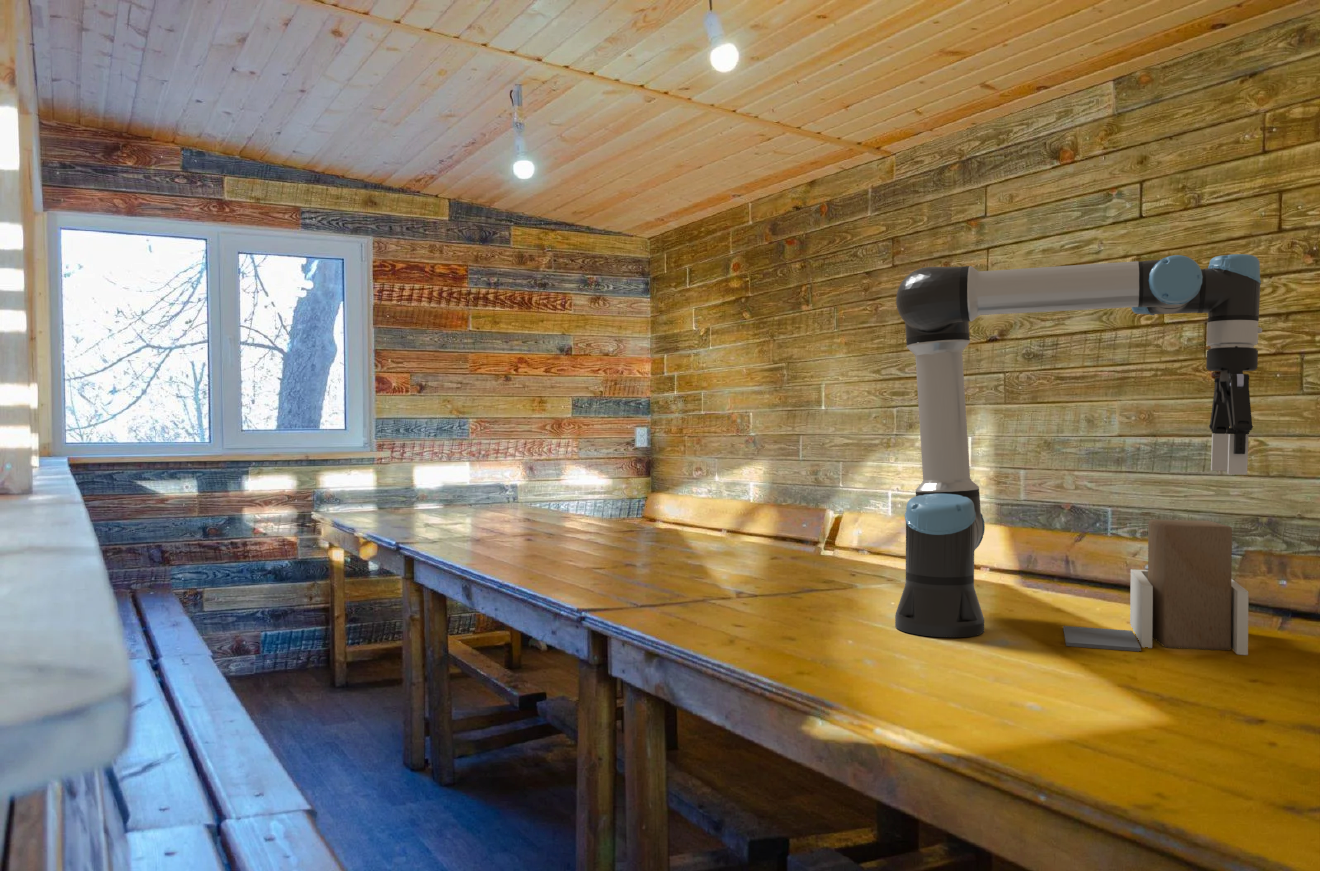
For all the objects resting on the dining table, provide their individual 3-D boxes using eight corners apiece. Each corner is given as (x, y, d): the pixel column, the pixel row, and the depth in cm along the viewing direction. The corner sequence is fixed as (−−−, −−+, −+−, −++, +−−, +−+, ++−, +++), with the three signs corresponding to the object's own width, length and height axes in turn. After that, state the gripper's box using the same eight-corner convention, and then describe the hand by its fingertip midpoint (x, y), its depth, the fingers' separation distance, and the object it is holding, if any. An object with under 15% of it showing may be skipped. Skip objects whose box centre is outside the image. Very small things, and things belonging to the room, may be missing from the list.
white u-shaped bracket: (1141, 647, 159) (1142, 585, 159) (1130, 624, 177) (1130, 569, 177) (1247, 655, 154) (1248, 591, 154) (1224, 630, 172) (1225, 574, 172)
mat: (1066, 645, 160) (1066, 642, 160) (1063, 629, 173) (1063, 625, 173) (1140, 651, 156) (1140, 647, 156) (1132, 634, 169) (1132, 630, 169)
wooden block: (1232, 651, 157) (1233, 526, 156) (1164, 648, 159) (1165, 524, 158) (1210, 637, 166) (1211, 520, 166) (1146, 635, 168) (1147, 519, 168)
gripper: (1277, 341, 153) (1272, 477, 153) (1240, 352, 177) (1236, 470, 177) (1222, 341, 156) (1218, 475, 156) (1193, 352, 179) (1190, 468, 180)
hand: (1228, 472), depth 166 cm, fingers open, 13 cm apart
